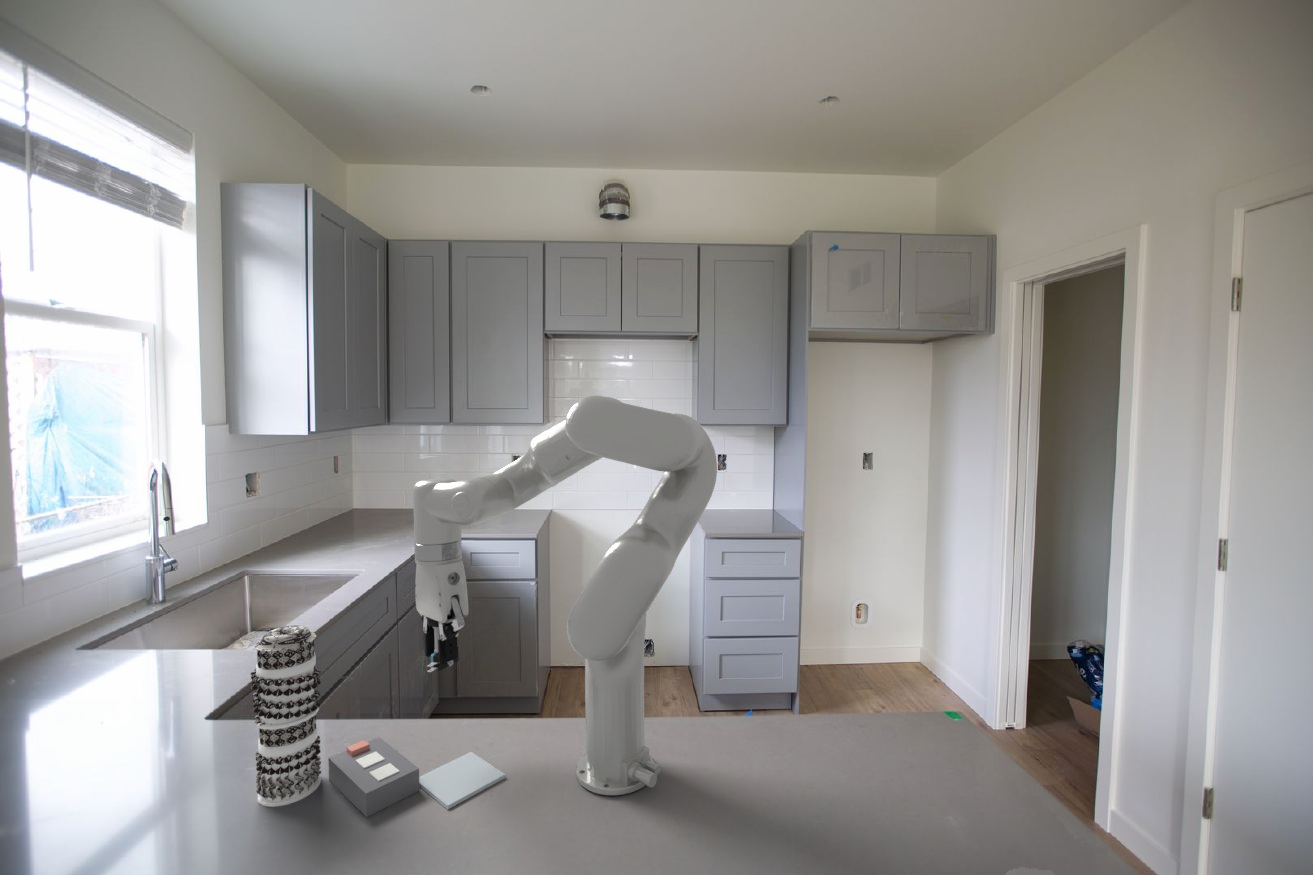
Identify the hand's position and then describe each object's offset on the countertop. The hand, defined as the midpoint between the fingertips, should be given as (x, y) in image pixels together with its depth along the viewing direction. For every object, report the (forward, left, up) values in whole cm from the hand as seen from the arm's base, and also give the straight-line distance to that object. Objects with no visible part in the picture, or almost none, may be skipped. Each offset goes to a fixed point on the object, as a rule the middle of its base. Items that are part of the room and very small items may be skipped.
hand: (441, 656), depth 100 cm
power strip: (+1, +12, -17) cm, 21 cm away
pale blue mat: (-9, +2, -17) cm, 19 cm away
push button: (0, 0, -2) cm, 2 cm away
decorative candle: (+10, +21, -17) cm, 28 cm away
